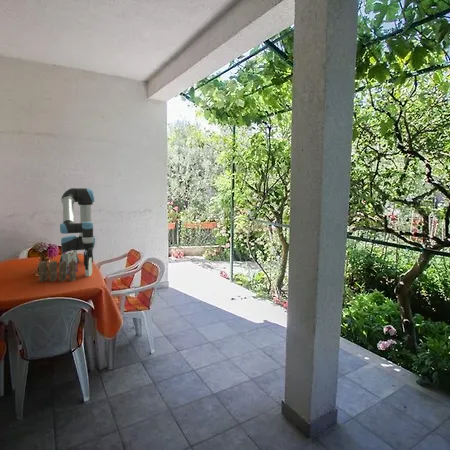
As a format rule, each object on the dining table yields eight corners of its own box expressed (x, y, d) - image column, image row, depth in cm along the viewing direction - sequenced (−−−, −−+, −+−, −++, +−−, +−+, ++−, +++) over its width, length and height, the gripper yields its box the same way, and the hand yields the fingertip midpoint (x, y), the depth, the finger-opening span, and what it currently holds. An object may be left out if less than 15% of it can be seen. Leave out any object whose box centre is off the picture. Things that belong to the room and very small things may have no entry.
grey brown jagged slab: (59, 281, 219) (58, 263, 217) (63, 278, 226) (62, 260, 224) (62, 281, 219) (62, 263, 218) (66, 278, 226) (66, 260, 224)
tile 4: (69, 281, 220) (68, 263, 218) (72, 278, 226) (72, 260, 225) (72, 281, 220) (71, 263, 218) (76, 278, 227) (75, 260, 225)
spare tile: (85, 276, 232) (85, 259, 231) (88, 273, 239) (88, 257, 238) (89, 276, 233) (88, 259, 231) (92, 273, 239) (91, 257, 238)
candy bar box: (72, 270, 247) (71, 250, 245) (77, 271, 246) (77, 250, 244) (62, 274, 236) (61, 253, 234) (68, 274, 235) (67, 253, 233)
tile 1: (39, 281, 217) (38, 263, 216) (44, 278, 224) (43, 261, 223) (43, 281, 218) (42, 263, 216) (47, 278, 225) (46, 261, 223)
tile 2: (49, 281, 218) (48, 263, 217) (53, 278, 225) (53, 260, 223) (53, 281, 218) (52, 263, 217) (57, 278, 225) (56, 260, 224)
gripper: (87, 240, 242) (87, 269, 245) (78, 244, 223) (79, 276, 225) (97, 240, 243) (97, 268, 246) (89, 244, 223) (89, 276, 226)
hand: (88, 272), depth 236 cm, fingers closed on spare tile, 7 cm apart
